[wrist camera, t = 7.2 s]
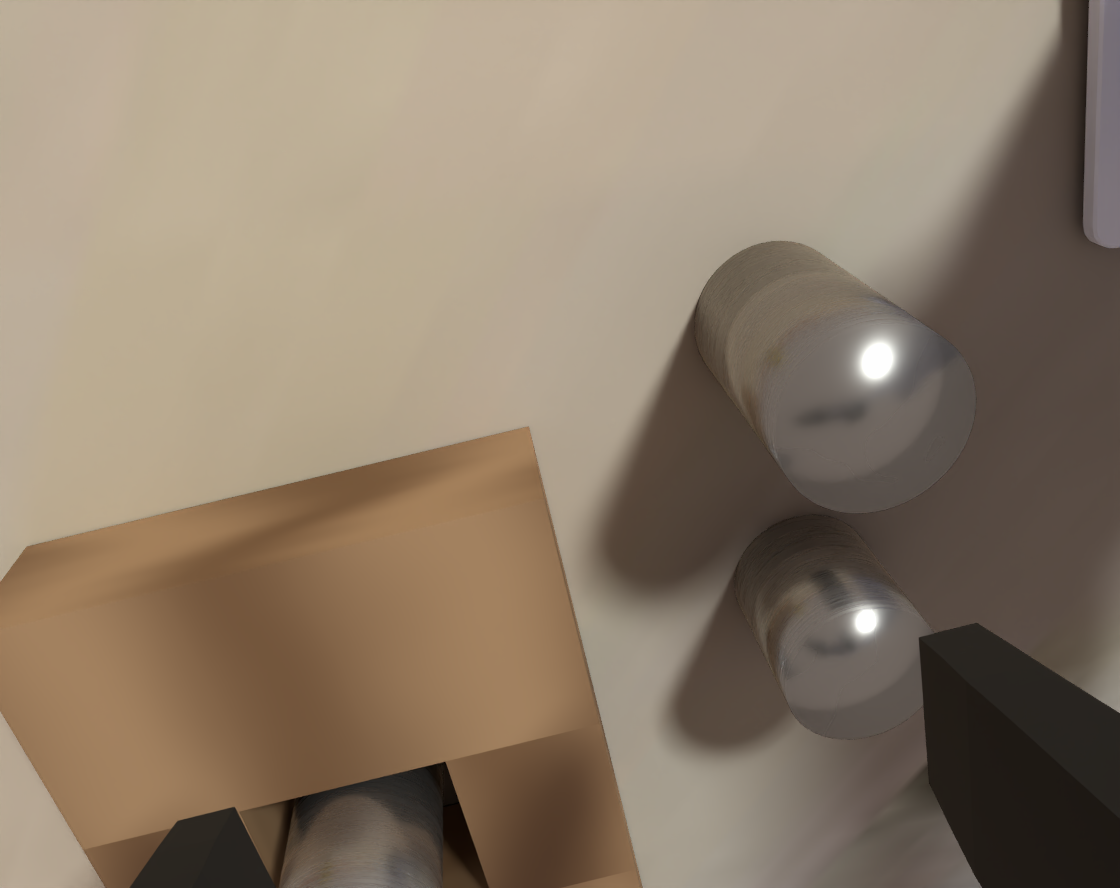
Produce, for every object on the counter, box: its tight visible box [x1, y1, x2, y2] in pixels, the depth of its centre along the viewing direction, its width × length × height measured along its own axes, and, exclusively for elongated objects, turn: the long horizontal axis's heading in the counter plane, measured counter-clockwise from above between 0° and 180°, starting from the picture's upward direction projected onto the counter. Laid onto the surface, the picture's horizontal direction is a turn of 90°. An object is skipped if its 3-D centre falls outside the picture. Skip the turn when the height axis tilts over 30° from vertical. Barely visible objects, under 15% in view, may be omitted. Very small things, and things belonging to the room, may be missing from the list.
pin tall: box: [279, 762, 443, 888], centre depth 19 cm, size 3×3×7 cm
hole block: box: [0, 427, 643, 888], centre depth 21 cm, size 10×14×3 cm
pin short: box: [734, 515, 934, 740], centre depth 20 cm, size 3×3×4 cm
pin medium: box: [694, 241, 976, 513], centre depth 16 cm, size 3×3×5 cm
